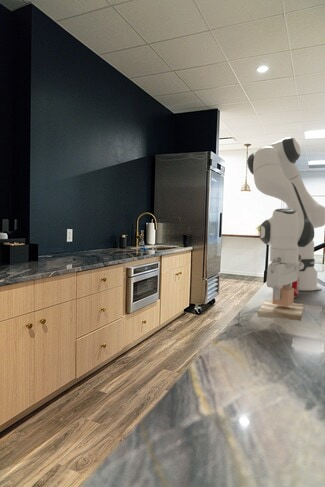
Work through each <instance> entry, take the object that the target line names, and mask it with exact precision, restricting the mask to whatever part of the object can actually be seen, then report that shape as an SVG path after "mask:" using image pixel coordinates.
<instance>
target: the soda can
mask: <svg viewBox="0 0 325 487" xmlns="http://www.w3.org/2000/svg"><path fill="white" fill-rule="evenodd" d="M282 287H285V285H284V286H282ZM291 288H294V299H295V298H297V297H298V296H299V292H300V290H299V276H298V279H297V281H295V282H292V287H291Z"/></svg>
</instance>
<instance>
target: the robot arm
mask: <svg viewBox="0 0 325 487" xmlns="http://www.w3.org/2000/svg"><path fill="white" fill-rule="evenodd" d="M300 157H301V146H300V144H299V143H298V141H297V140H296V139H295V138H294V137H292V136H289V137H285V138H282V139H280V140H277V141H275V142H271V143H270V144H268V145H267V146H263V147H260V148H258V149H257V150H256V151H254V152H252V153H251V154H250V155H249V156H248V158H247V160H246V163H247V167H248V171H249V172H250V173H251V174H252V175H253V179H254V180H253V181H254V185H255V187H256V189H257V190H258V191H259V192H261V193H262V194H264V195H266V196H268V197H269V196H270V197H273V198H276V199H278V200H280V201H282V202H283V203H285V204H286V206H287V207H284V208H277V209H274V210H273V211H272V216H271V217H270V218H268V219H266V220H264V221H263V222H262V223H261V224H260V226H259V239H260V240H261V241H262V242H263V244H264V245H268V246H270V248H269V249H270V251H269V252H270V254H269V256H270V257H269V261H270V264H268V266H267V272H266V284H265V285H266V287H268V288H271V289H272V293H273V292H274V299H275V300H280V299H281V294H280V290H281V287H282V286H284V285H285V287H289V288H291V287H292V282H295V281H297V279H298V276H299V291H318V290H319V291H322V288H323V287H321V286H320V285H319V284H318V282H319V279H318V271H317V269H316V268H315V264H316V261H315V257H314V256H315V255H314V254H315V241H314V238H315V229H318V228H321V227H323V226H325V206H323V205H322V204H320V203H319V202H317V201H316V200H315V198H313V196H311V194H310V193H309V191H308V190H307V188H306V186H305V183H304V181H303V179H302V177H301V175H300V172H299V169H298V168H297V167H298V166H296V162H297V161H298V160H299V158H300Z"/></svg>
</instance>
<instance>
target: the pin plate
mask: <svg viewBox="0 0 325 487" xmlns="http://www.w3.org/2000/svg"><path fill="white" fill-rule="evenodd" d="M272 302H273V300H271V299H270V300H269V299H265V301H264V302H263V303H262V305H261V306H260V307H259V309H258V310H257V316H261V317H262V316H263V317H270V318H276V319H283V320H285V319H286V320H293V321H300V322H301V321H302V319H303V318H302V317H303V315H304V310H305V304H304V303H295V302H293V303H292V304H291V305H289V306H281V305H275V304H272Z"/></svg>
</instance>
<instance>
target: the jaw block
mask: <svg viewBox="0 0 325 487" xmlns="http://www.w3.org/2000/svg"><path fill="white" fill-rule="evenodd" d="M280 294H281V299H280V300H275V299H274V292H273V291H272V301H273V302H272V304H275V305H281V306H289V305H291V304H292V303H295V302H294V299H295V298H294V288H289V287H281V290H280Z"/></svg>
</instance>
